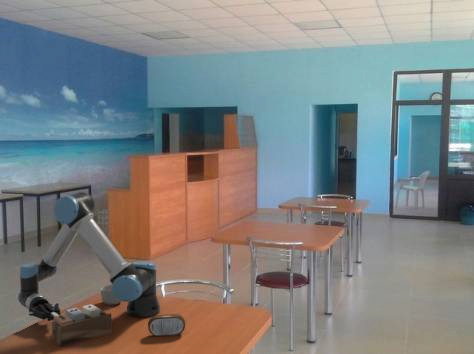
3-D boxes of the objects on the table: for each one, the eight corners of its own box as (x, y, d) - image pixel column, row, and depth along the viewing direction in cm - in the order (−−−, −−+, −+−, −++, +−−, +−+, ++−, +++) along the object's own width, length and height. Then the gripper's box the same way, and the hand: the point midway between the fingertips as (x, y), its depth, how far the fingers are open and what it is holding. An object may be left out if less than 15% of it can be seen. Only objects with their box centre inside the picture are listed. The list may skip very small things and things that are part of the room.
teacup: (118, 307, 242) (117, 291, 241) (96, 306, 244) (96, 289, 244) (130, 298, 256) (129, 282, 255) (109, 296, 258) (109, 281, 257)
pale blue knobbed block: (66, 323, 215) (65, 309, 215) (76, 321, 218) (76, 306, 217) (74, 329, 209) (73, 314, 209) (84, 327, 212) (84, 312, 211)
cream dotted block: (82, 320, 220) (81, 305, 219) (91, 317, 223) (91, 303, 222) (90, 325, 214) (90, 310, 213) (100, 322, 217) (100, 308, 216)
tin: (185, 332, 213) (185, 312, 212) (185, 335, 210) (185, 315, 209) (148, 334, 211) (147, 314, 210) (148, 337, 207) (147, 317, 207)
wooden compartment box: (52, 338, 205) (51, 319, 205) (101, 326, 219) (100, 307, 218) (61, 346, 198) (61, 326, 198) (111, 332, 212) (111, 313, 211)
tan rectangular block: (54, 331, 207) (53, 316, 206) (64, 328, 210) (64, 313, 209) (62, 337, 201) (61, 321, 200) (72, 334, 204) (72, 319, 203)
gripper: (52, 309, 231) (74, 325, 213) (22, 316, 222) (42, 333, 204) (52, 293, 230) (74, 307, 212) (22, 299, 221) (42, 314, 204)
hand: (58, 319), depth 208 cm, fingers closed
